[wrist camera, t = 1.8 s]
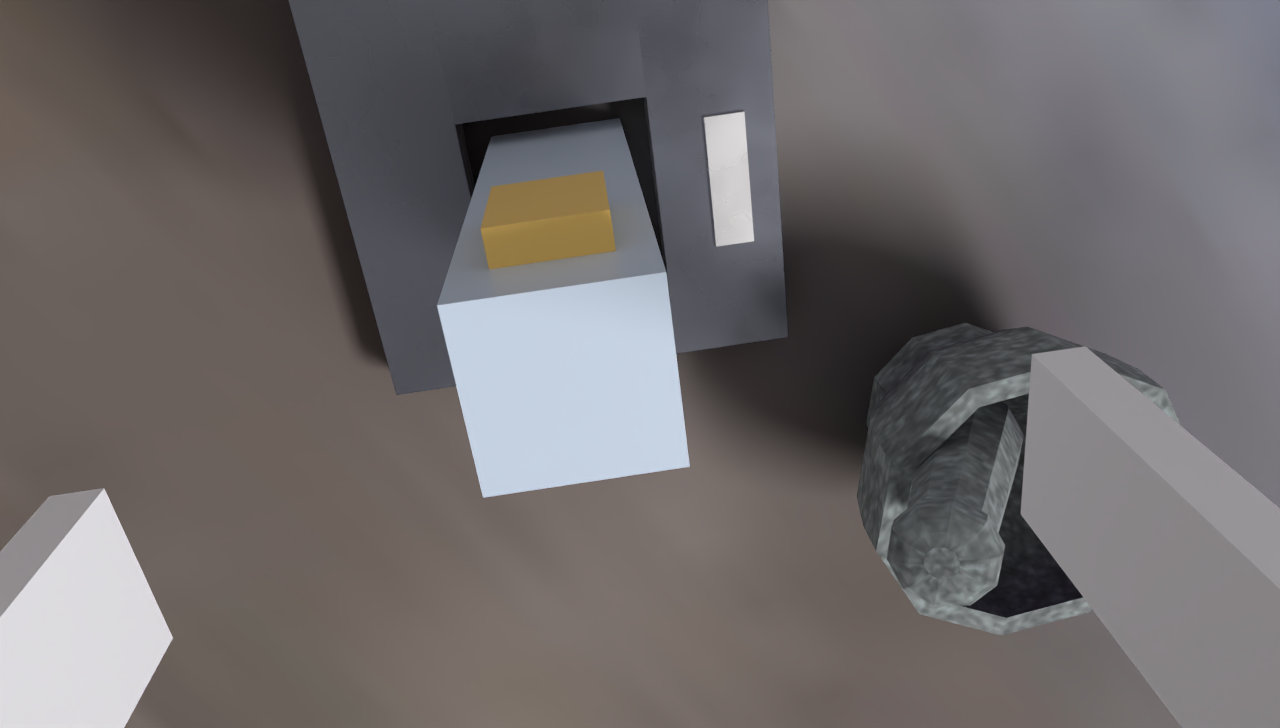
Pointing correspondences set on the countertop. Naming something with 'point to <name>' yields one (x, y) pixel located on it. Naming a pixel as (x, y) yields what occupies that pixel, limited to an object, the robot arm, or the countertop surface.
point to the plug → (562, 316)
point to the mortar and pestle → (966, 478)
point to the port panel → (537, 82)
